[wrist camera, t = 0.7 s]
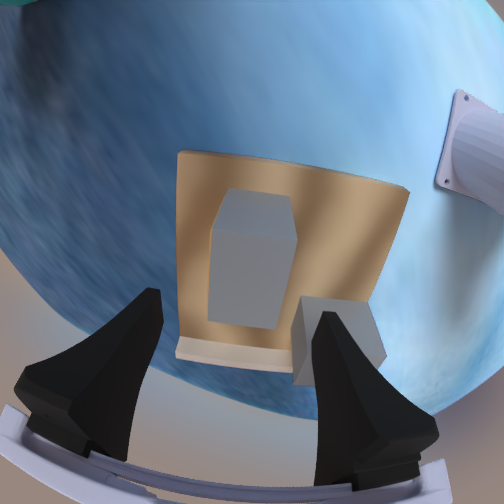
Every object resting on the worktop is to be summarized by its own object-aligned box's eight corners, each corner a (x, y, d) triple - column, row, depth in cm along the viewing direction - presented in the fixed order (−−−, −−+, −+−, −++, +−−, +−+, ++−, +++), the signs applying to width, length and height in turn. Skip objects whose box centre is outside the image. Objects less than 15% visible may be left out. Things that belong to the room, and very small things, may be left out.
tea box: (274, 271, 21) (275, 329, 16) (219, 263, 21) (204, 320, 16) (289, 196, 18) (297, 240, 13) (226, 187, 18) (208, 228, 13)
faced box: (367, 302, 23) (386, 356, 17) (351, 335, 25) (364, 387, 20) (300, 295, 22) (307, 353, 17) (290, 330, 25) (292, 386, 19)
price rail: (341, 353, 26) (344, 369, 25) (337, 360, 27) (340, 375, 25) (180, 335, 26) (175, 351, 24) (180, 343, 26) (176, 358, 25)
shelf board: (403, 186, 18) (410, 192, 17) (336, 350, 28) (338, 359, 27) (182, 149, 18) (177, 153, 17) (183, 333, 27) (180, 342, 26)
